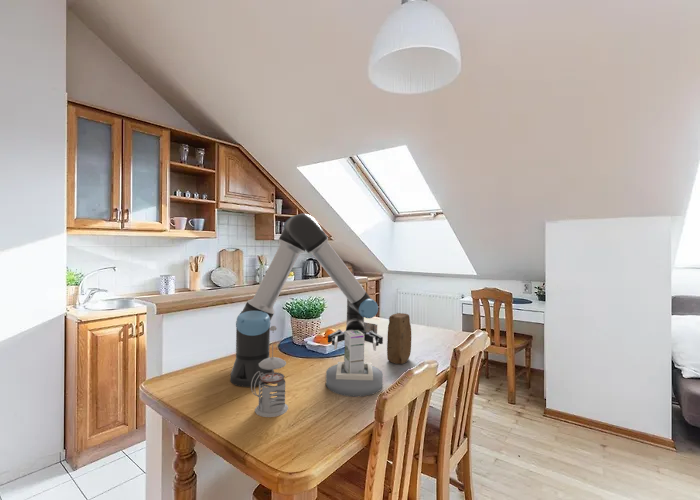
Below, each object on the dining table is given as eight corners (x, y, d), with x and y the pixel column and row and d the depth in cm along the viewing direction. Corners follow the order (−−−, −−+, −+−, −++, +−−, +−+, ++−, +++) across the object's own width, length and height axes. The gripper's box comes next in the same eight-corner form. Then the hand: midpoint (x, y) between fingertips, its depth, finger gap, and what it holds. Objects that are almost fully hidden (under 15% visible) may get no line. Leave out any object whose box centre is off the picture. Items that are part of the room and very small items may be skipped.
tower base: (323, 395, 113) (323, 378, 113) (328, 372, 133) (328, 357, 133) (384, 397, 113) (385, 380, 112) (380, 373, 132) (380, 359, 132)
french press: (295, 408, 104) (296, 326, 103) (261, 423, 95) (263, 333, 94) (275, 398, 110) (276, 320, 110) (242, 410, 102) (244, 326, 101)
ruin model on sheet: (355, 336, 183) (355, 318, 183) (358, 335, 186) (358, 317, 186) (374, 340, 177) (374, 321, 177) (376, 339, 180) (377, 320, 180)
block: (400, 366, 141) (401, 317, 140) (384, 361, 145) (386, 314, 145) (413, 359, 149) (414, 313, 148) (398, 355, 154) (399, 310, 153)
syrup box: (364, 374, 121) (365, 333, 121) (348, 376, 119) (349, 334, 118) (358, 368, 126) (359, 329, 126) (343, 370, 124) (344, 330, 124)
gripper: (385, 339, 140) (391, 358, 119) (324, 338, 140) (318, 355, 119) (386, 321, 140) (391, 336, 119) (324, 319, 140) (319, 334, 119)
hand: (355, 346), depth 119 cm, fingers open, 13 cm apart
